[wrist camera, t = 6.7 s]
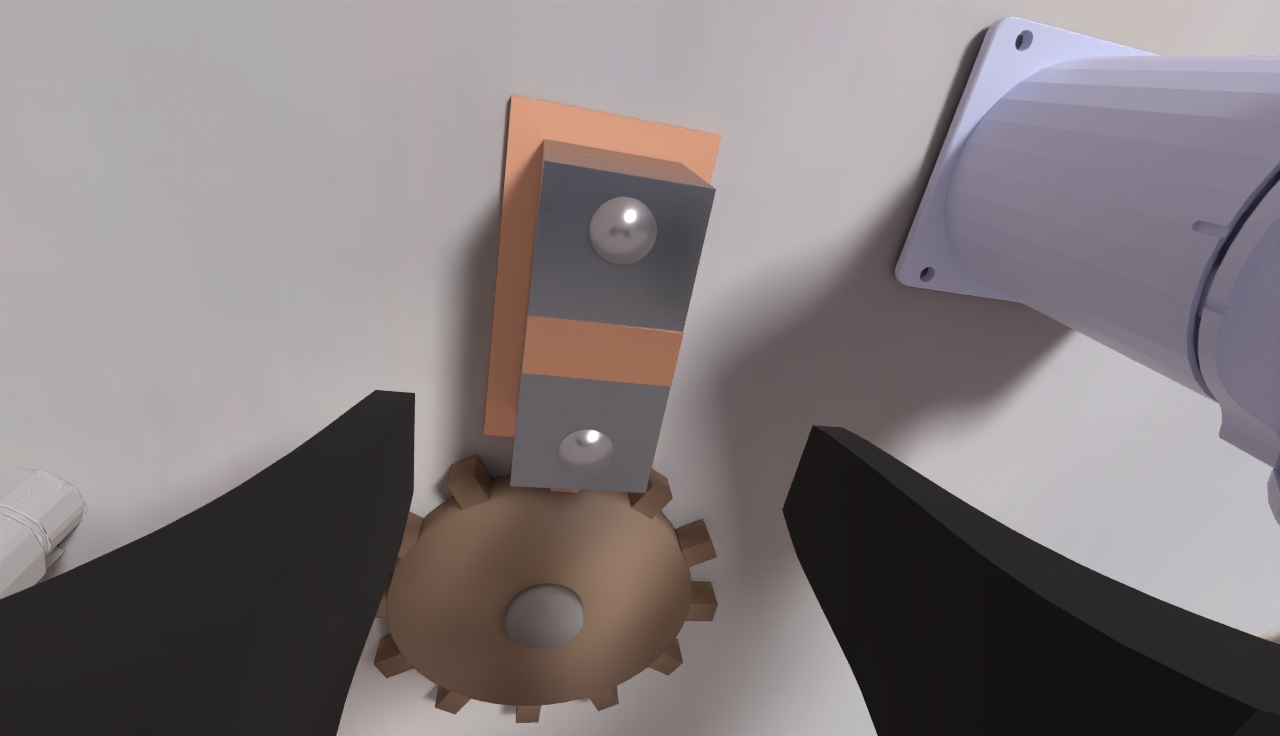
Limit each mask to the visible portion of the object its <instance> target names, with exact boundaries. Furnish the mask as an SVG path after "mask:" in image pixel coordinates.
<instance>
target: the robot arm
mask: <svg viewBox="0 0 1280 736" xmlns="http://www.w3.org/2000/svg"><path fill="white" fill-rule="evenodd" d="M1020 33H1022V35H1023V41H1022V44H1021V46H1020V47H1019V48H1018V49H1016V46H1015V42H1016V38H1017V37H1018V35H1019V34H1020ZM926 267H928V272H927V274H926V275H925V276H924V277H922V278H920V273H921V272H922V270H923V269H925V268H926ZM895 277H896V279H897V280H898V281H899V282H900V283H902V284H904V285H906V286H910V287H917V288H924V289H931V290H938V291H944V292H951V293H958V294H965V295H972V296H979V297H985V298H992V299H999V300H1006V301H1013V302H1020V303H1023V304H1025V305H1027V306H1029V307H1030V308H1032V309H1034V310H1036V311H1038V312H1040V313H1042V314H1044V315H1046V316H1048V317H1050V318H1052V319H1054V320H1056V321H1058V322H1060V323H1062V324H1064V325H1066V326H1068V327H1070V328H1072V329H1074V330H1076V331H1077V332H1079V333H1081V334H1083V335H1085V336H1087V337H1089V338H1091V339H1093V340H1095V341H1097V342H1099V343H1101V344H1103V345H1105V346H1107V347H1109V348H1111V349H1113V350H1115V351H1117V352H1119V353H1121V354H1123V355H1124V356H1126V357H1128V358H1130V359H1132V360H1134V361H1136V362H1138V363H1140V364H1142V365H1144V366H1146V367H1148V368H1150V369H1152V370H1154V371H1156V372H1158V373H1160V374H1162V375H1164V376H1166V377H1168V378H1170V379H1171V380H1173V381H1175V382H1177V383H1179V384H1181V385H1183V386H1185V387H1187V388H1189V389H1191V390H1193V391H1195V392H1197V393H1199V394H1201V395H1203V396H1205V397H1207V398H1209V399H1211V400H1213V401H1215V402H1217V403H1218V404H1220V406H1221V410H1222V423H1221V427H1220V431H1219V437H1220V438H1221V439H1223V440H1225V441H1226V442H1228V443H1230V444H1232V445H1234V446H1235V447H1237V448H1239V449H1241V450H1243V451H1244V452H1246V453H1248V454H1250V455H1251V456H1253V457H1255V458H1257V459H1259V460H1260V461H1262V462H1264V463H1266V464H1268V465H1269V466H1271V467H1273V470H1272V472H1271V475H1270V477H1269V480H1268V483H1267V489H1268V502H1269V505H1270V508H1271V510H1272V512H1273V515H1274V517H1275V520H1276V521H1277V522H1278V524H1279V525H1280V56H1161V55H1157V54H1153V53H1150V52H1146V51H1142V50H1138V49H1135V48H1131V47H1127V46H1123V45H1120V44H1116V43H1112V42H1108V41H1105V40H1101V39H1097V38H1094V37H1090V36H1086V35H1082V34H1079V33H1075V32H1071V31H1067V30H1064V29H1060V28H1056V27H1052V26H1049V25H1045V24H1041V23H1037V22H1034V21H1030V20H1026V19H1022V18H1019V17H1003V18H1000V19H998V20H996V21H995V22H994V23H993V24H992V25H991V26H990V28H989V29H988V31H987V33H986V35H985V38H984V41H983V43H982V46H981V48H980V51H979V54H978V56H977V59H976V61H975V64H974V66H973V69H972V72H971V74H970V77H969V79H968V82H967V85H966V87H965V90H964V92H963V95H962V97H961V100H960V103H959V105H958V108H957V110H956V113H955V116H954V118H953V121H952V123H951V126H950V128H949V131H948V134H947V136H946V139H945V141H944V144H943V147H942V149H941V152H940V154H939V157H938V159H937V162H936V165H935V167H934V170H933V172H932V175H931V178H930V180H929V183H928V185H927V188H926V190H925V193H924V196H923V198H922V201H921V203H920V206H919V209H918V211H917V214H916V216H915V219H914V221H913V224H912V227H911V229H910V232H909V234H908V237H907V240H906V242H905V245H904V247H903V250H902V252H901V255H900V258H899V260H898V263H897V265H896V269H895ZM414 424H415V393H406V392H394V391H382V390H375V391H374V392H372V393H371V394H370V395H368V396H367V397H365V398H364V399H363V400H361V401H360V402H359V403H357V404H356V405H355V406H353V407H352V408H351V409H349V410H348V411H347V412H345V413H344V414H343V415H341V416H340V417H339V418H337V419H336V420H335V421H333V422H332V423H331V424H329V425H328V426H327V427H325V428H324V429H323V430H321V431H320V432H319V433H317V434H316V435H314V436H313V437H312V438H310V439H309V440H307V441H306V442H305V443H303V444H302V445H300V446H299V447H298V448H296V449H295V450H293V451H292V452H291V453H289V454H288V455H286V456H284V457H283V458H281V459H280V460H278V461H277V462H275V463H274V464H272V465H270V466H269V467H267V468H266V469H264V470H263V471H261V472H260V473H258V474H256V475H255V476H253V477H252V478H250V479H249V480H247V481H246V482H244V483H242V484H241V485H239V486H238V487H236V488H234V489H233V490H231V491H229V492H227V493H226V494H224V495H222V496H220V497H219V498H217V499H215V500H213V501H212V502H210V503H208V504H206V505H205V506H203V507H201V508H199V509H197V510H195V511H193V512H191V513H189V514H187V515H186V516H184V517H182V518H180V519H178V520H176V521H174V522H172V523H170V524H169V525H167V526H165V527H163V528H161V529H159V530H157V531H155V532H153V533H151V534H149V535H147V536H144V537H142V538H140V539H138V540H136V541H133V542H131V543H129V544H127V545H125V546H122V547H120V548H118V549H116V550H114V551H111V552H109V553H107V554H105V555H103V556H100V557H98V558H96V559H94V560H92V561H89V562H87V563H85V564H83V565H81V566H78V567H76V568H74V569H72V570H70V571H67V572H65V573H63V574H61V575H58V576H56V577H54V578H51V579H49V580H47V581H44V582H42V583H39V584H37V585H34V586H32V587H29V588H27V589H24V590H22V591H19V592H17V593H14V594H12V595H9V596H7V597H4V598H2V599H0V736H336V734H337V731H338V727H339V723H340V719H341V715H342V712H343V708H344V704H345V701H346V698H347V695H348V691H349V688H350V685H351V682H352V679H353V676H354V673H355V670H356V667H357V665H358V662H359V659H360V656H361V654H362V651H363V648H364V646H365V643H366V640H367V637H368V635H369V632H370V629H371V627H372V624H373V621H374V619H375V616H376V613H377V610H378V608H379V605H380V602H381V600H382V597H383V594H384V591H385V589H386V586H387V583H388V581H389V578H390V575H391V572H392V570H393V567H394V564H395V561H396V559H397V556H398V553H399V550H400V547H401V544H402V540H403V536H404V532H405V527H406V523H407V519H408V514H409V510H410V505H411V501H412V496H413V491H414ZM782 510H783V513H784V517H785V520H786V523H787V527H788V530H789V534H790V537H791V540H792V543H793V546H794V548H795V551H796V554H797V557H798V559H799V562H800V564H801V566H802V568H803V570H804V572H805V574H806V577H807V579H808V581H809V583H810V585H811V587H812V589H813V591H814V593H815V595H816V597H817V599H818V602H819V604H820V606H821V608H822V610H823V612H824V614H825V616H826V618H827V620H828V622H829V624H830V626H831V628H832V630H833V632H834V634H835V636H836V638H837V640H838V642H839V644H840V646H841V648H842V651H843V653H844V655H845V657H846V659H847V661H848V663H849V665H850V667H851V669H852V672H853V674H854V676H855V678H856V681H857V683H858V685H859V687H860V690H861V692H862V695H863V697H864V700H865V703H866V705H867V708H868V711H869V714H870V716H871V719H872V722H873V724H874V727H875V730H876V732H877V735H878V736H1280V644H1277V643H1274V642H1271V641H1268V640H1265V639H1262V638H1259V637H1256V636H1254V635H1251V634H1248V633H1245V632H1243V631H1240V630H1237V629H1235V628H1232V627H1229V626H1227V625H1224V624H1221V623H1219V622H1216V621H1213V620H1211V619H1208V618H1205V617H1202V616H1200V615H1197V614H1194V613H1192V612H1189V611H1187V610H1184V609H1182V608H1179V607H1177V606H1174V605H1172V604H1169V603H1167V602H1165V601H1162V600H1160V599H1157V598H1155V597H1152V596H1150V595H1148V594H1145V593H1143V592H1141V591H1139V590H1136V589H1134V588H1132V587H1129V586H1127V585H1125V584H1123V583H1120V582H1118V581H1116V580H1113V579H1111V578H1109V577H1107V576H1104V575H1102V574H1100V573H1098V572H1096V571H1093V570H1091V569H1089V568H1087V567H1085V566H1083V565H1081V564H1079V563H1076V562H1074V561H1072V560H1070V559H1068V558H1066V557H1064V556H1062V555H1061V554H1059V553H1057V552H1055V551H1053V550H1051V549H1049V548H1047V547H1045V546H1043V545H1041V544H1039V543H1037V542H1035V541H1033V540H1031V539H1029V538H1027V537H1025V536H1023V535H1022V534H1020V533H1018V532H1016V531H1014V530H1012V529H1011V528H1009V527H1007V526H1005V525H1004V524H1002V523H1000V522H998V521H997V520H995V519H993V518H991V517H990V516H988V515H986V514H985V513H983V512H981V511H979V510H978V509H976V508H974V507H973V506H971V505H969V504H968V503H966V502H964V501H963V500H961V499H959V498H958V497H956V496H954V495H953V494H951V493H950V492H948V491H946V490H945V489H943V488H942V487H940V486H938V485H937V484H935V483H934V482H932V481H930V480H929V479H927V478H926V477H924V476H922V475H921V474H919V473H918V472H916V471H915V470H913V469H912V468H910V467H908V466H907V465H905V464H904V463H902V462H900V461H899V460H897V459H896V458H894V457H893V456H891V455H889V454H888V453H886V452H885V451H883V450H881V449H880V448H878V447H876V446H875V445H873V444H872V443H870V442H868V441H866V440H865V439H863V438H861V437H859V436H858V435H856V434H854V433H852V432H850V431H848V430H846V429H844V428H840V427H827V426H815V425H813V426H812V429H811V432H810V435H809V437H808V440H807V443H806V446H805V449H804V451H803V454H802V457H801V460H800V462H799V465H798V468H797V471H796V473H795V476H794V479H793V482H792V484H791V487H790V490H789V493H788V496H787V498H786V501H785V504H784V507H783V509H782Z"/></svg>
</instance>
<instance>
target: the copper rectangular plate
mask: <svg viewBox="0 0 1280 736" xmlns="http://www.w3.org/2000/svg"><path fill="white" fill-rule="evenodd" d="M544 139H547V140H553V141H558V142H564V143H570V144H576V145H581V146H587V147H593V148H599V149H604V150H610V151H616V152H621V153H627V154H633V155H639V156H644V157H650V158H656V159H662V160H667V161H673V162H679V163H682V164H683V165H685V166H686V167H687V168H689V169H690V170H691V171H693V172H694V173H695V174H696V175H698V176H699V177H700V178H702V179H703V180H704V181H706V182H707V183H708V184H710V182H711V178H712V174H713V169H714V165H715V161H716V156H717V152H718V148H719V143H720V139H721V135H717V134H712V133H706V132H701V131H696V130H691V129H686V128H680V127H675V126H670V125H665V124H660V123H655V122H649V121H644V120H639V119H634V118H629V117H623V116H618V115H613V114H608V113H603V112H598V111H592V110H587V109H582V108H577V107H572V106H566V105H561V104H556V103H551V102H546V101H541V100H535V99H530V98H525V97H520V96H515V95H512V97H511V109H510V121H509V133H508V145H507V158H506V170H505V182H504V194H503V206H502V218H501V230H500V242H499V254H498V266H497V278H496V290H495V302H494V314H493V326H492V338H491V350H490V362H489V374H488V386H487V398H486V410H485V422H484V434H483V435H490V436H504V437H514V429H515V417H516V406H517V396H518V387H519V377H520V367H521V358H522V348H523V338H524V329H525V319H526V309H527V300H528V290H529V280H530V271H531V261H532V251H533V242H534V232H535V222H536V213H537V203H538V193H539V184H540V174H541V164H542V155H543V145H544Z"/></svg>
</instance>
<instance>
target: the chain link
mask: <svg viewBox="0 0 1280 736" xmlns="http://www.w3.org/2000/svg"><path fill="white" fill-rule="evenodd" d="M715 191H716V189H715V188H714V187H712V186H711V185H710V184H708V183H707V182H706V181H704V180H703V179H702V178H700V177H699V176H698V175H696V174H695V173H694V172H693V171H691V170H690V169H689V168H687V167H686V166H685V165H683V164H682V163H679V162H673V161H667V160H662V159H656V158H650V157H644V156H639V155H633V154H627V153H621V152H616V151H610V150H604V149H599V148H593V147H587V146H581V145H576V144H570V143H564V142H558V141H553V140H547V139H544V145H543V155H542V164H541V174H540V184H539V193H538V203H537V213H536V222H535V232H534V242H533V251H532V261H531V271H530V280H529V290H528V300H527V309H526V319H525V329H524V338H523V348H522V358H521V367H520V377H519V387H518V396H517V406H516V417H515V429H514V442H513V454H512V467H511V480H510V486H521V487H540V488H559V489H578V490H597V491H616V492H635V493H646V490H647V485H648V481H649V477H650V472H651V468H652V464H653V459H654V455H655V451H656V446H657V442H658V438H659V433H660V429H661V425H662V420H663V416H664V412H665V407H666V403H667V399H668V394H669V390H670V387H671V384H672V379H673V375H674V371H675V366H676V362H677V358H678V354H679V349H680V345H681V341H682V336H683V329H684V325H685V321H686V316H687V312H688V308H689V303H690V299H691V295H692V290H693V286H694V282H695V277H696V273H697V269H698V265H699V260H700V256H701V252H702V247H703V243H704V239H705V234H706V230H707V226H708V221H709V217H710V213H711V208H712V204H713V200H714V195H715Z"/></svg>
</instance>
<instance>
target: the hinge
mask: <svg viewBox="0 0 1280 736" xmlns="http://www.w3.org/2000/svg"><path fill="white" fill-rule="evenodd" d="M86 512H87V510H86V508H85V505H84V502H83V500H82V498H81V497H80V495H79V493H78V491H77V489H76V488H75V487H73V486H70V484H68V483H66V482H65V481H63V480H61V479H59V478H58V477H56V476H54V475H52V474H51V473H49V472H47V471H37V470H25V469H13V468H3V467H1V466H0V599H2V598H4V597H7V596H9V595H12V594H14V593H17V592H19V591H22V590H24V589H27V588H29V587H32V586H34V585H35V584H36V583H37V582H38V581H39V580H40V579H41V578H42V577H43V576H44V575H45V574H46V570H47V569H48V568H49V567H50V566H51V565H52V564H53V563H54V562H55V561H56V560H57V559H58V558H59V557H60V556H61V554H62V553H63V552H64V550H63V549H61V548H59V547H57V545H58V544H59V543H60V542H61V541H62V540H63V539H64V538H65V537H66V536H67V535H68V534H69V533H70V532H71V531H72V530H73V529H74V528H75V527H76V526H77V525H78V524H79V523H80V522H81V520H82V519H83V517H84V515H85V513H86Z"/></svg>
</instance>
